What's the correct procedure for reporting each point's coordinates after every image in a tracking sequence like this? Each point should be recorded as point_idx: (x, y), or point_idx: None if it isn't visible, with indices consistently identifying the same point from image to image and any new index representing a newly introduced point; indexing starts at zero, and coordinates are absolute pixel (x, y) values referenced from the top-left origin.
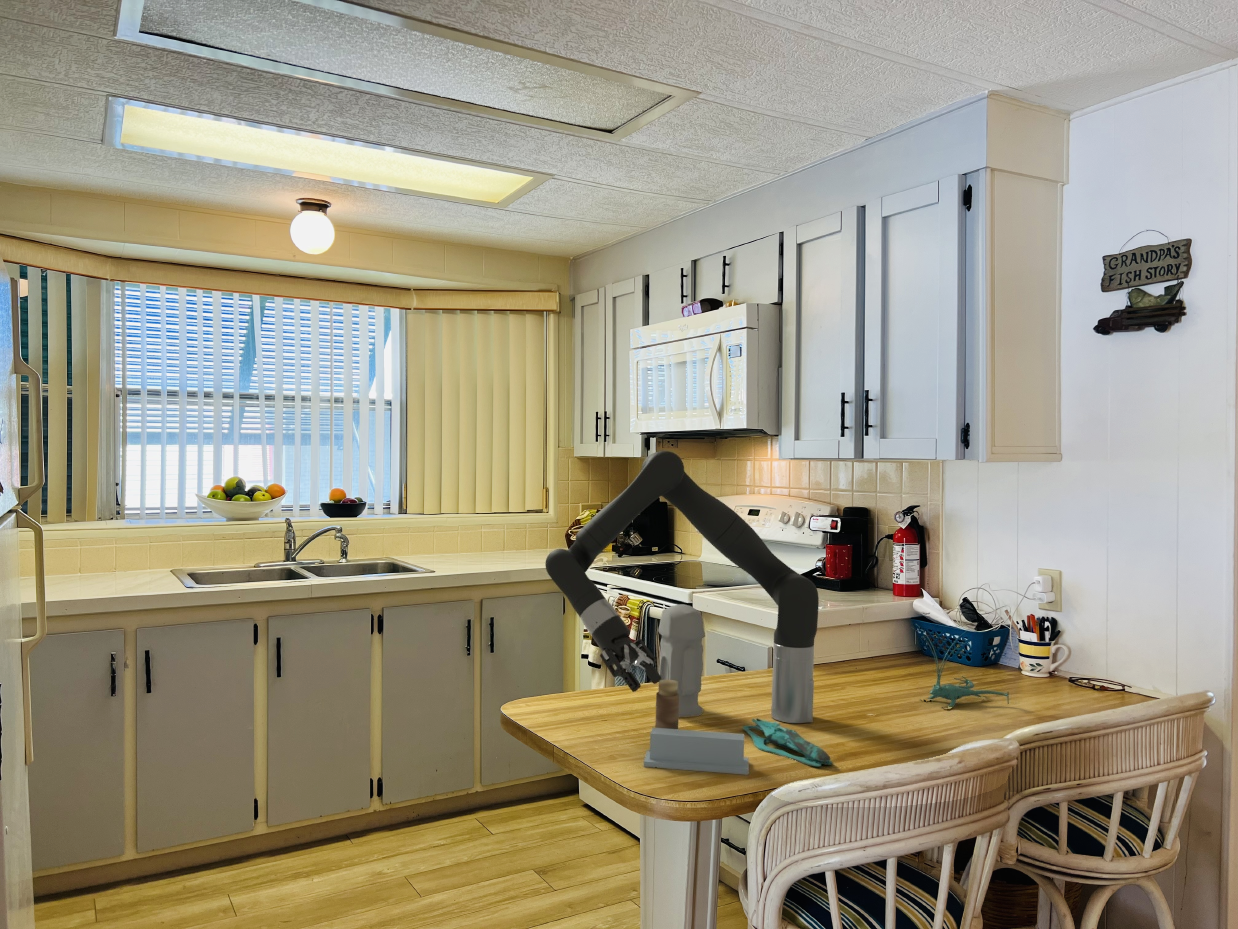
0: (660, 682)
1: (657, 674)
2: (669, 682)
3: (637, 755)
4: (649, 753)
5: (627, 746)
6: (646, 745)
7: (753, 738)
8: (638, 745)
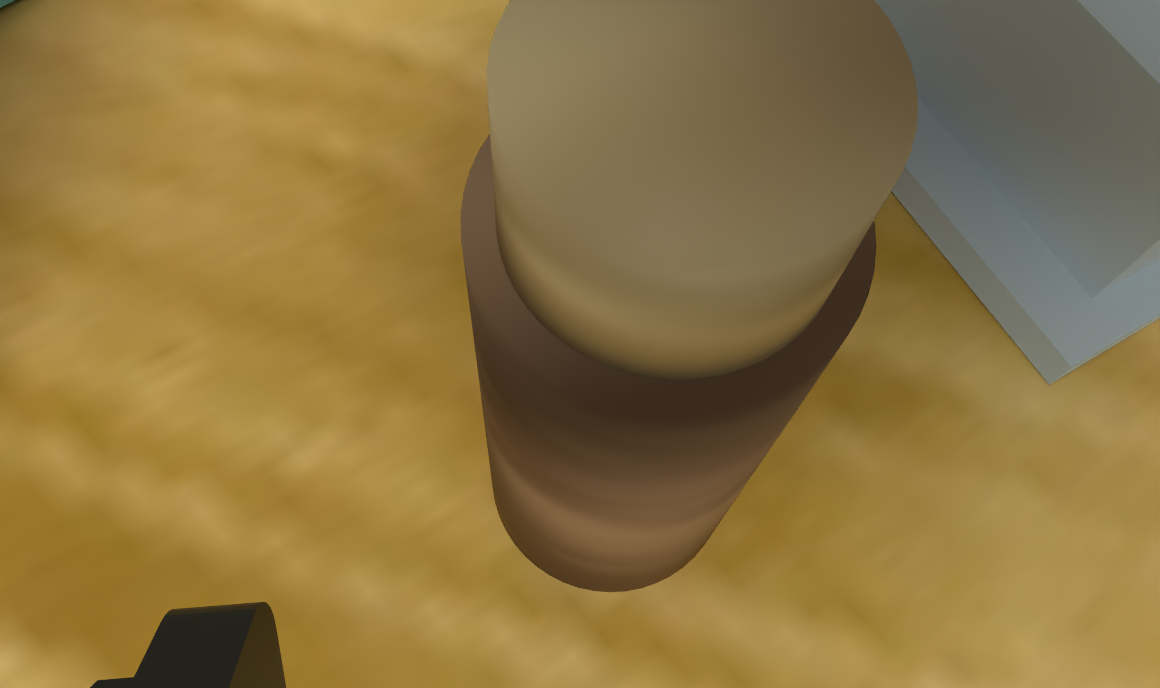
0: (878, 162)
1: (228, 676)
2: (713, 43)
3: (1128, 444)
4: (1124, 301)
5: (1030, 681)
6: (851, 552)
7: None
8: (915, 613)
